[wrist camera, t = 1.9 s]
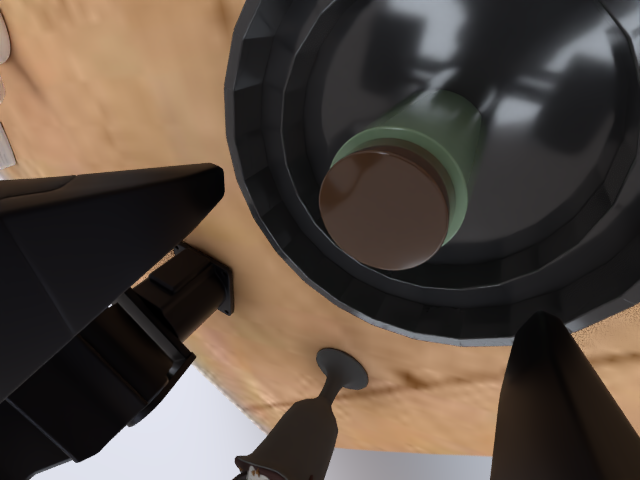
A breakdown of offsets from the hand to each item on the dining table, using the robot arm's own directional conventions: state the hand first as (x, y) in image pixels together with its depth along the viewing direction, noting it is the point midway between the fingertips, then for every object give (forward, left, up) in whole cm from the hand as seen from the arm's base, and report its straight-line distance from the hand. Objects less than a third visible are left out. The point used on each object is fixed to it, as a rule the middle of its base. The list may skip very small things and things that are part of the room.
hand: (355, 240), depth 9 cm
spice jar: (0, 0, -8) cm, 8 cm away
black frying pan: (0, 0, -8) cm, 9 cm away
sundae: (-21, 0, -9) cm, 23 cm away
